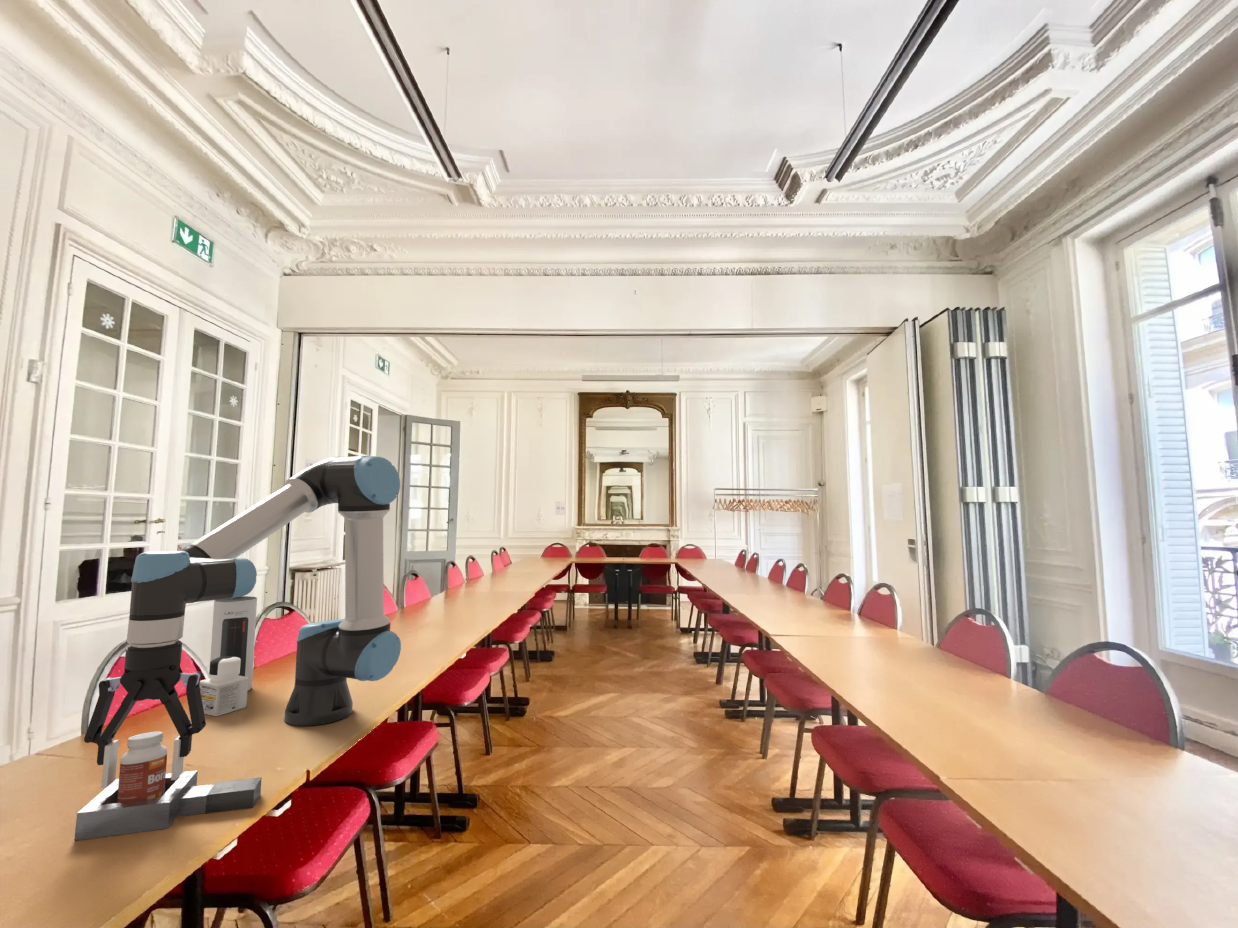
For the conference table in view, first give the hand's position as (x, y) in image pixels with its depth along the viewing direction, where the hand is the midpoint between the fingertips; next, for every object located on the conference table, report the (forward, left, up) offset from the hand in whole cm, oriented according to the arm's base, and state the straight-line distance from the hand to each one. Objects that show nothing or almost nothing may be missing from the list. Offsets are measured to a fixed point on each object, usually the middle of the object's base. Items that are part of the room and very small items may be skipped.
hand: (143, 780), depth 96 cm
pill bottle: (0, 0, -4) cm, 4 cm away
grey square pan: (-5, 0, -6) cm, 8 cm away
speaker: (+7, -72, -6) cm, 73 cm away
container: (+4, -55, -6) cm, 55 cm away
